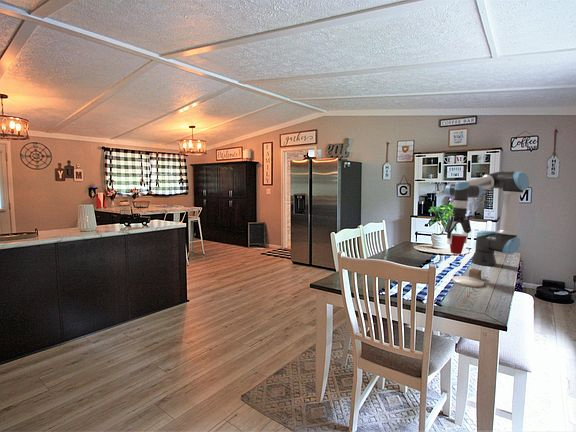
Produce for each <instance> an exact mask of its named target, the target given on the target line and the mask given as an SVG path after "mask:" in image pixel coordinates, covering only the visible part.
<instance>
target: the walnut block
mask: <svg viewBox="0 0 576 432" xmlns="http://www.w3.org/2000/svg"><path fill="white" fill-rule="evenodd" d="M468 277H473V278H477V279H480V280H481V279H482V269H477V268H471V269H469V271H468Z"/></svg>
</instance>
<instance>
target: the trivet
mask: <svg viewBox="0 0 576 432" xmlns="http://www.w3.org/2000/svg"><path fill="white" fill-rule="evenodd" d="M452 282H453V283H454V284H456V285H459V286H462V287H469V288H482V287H484V286H485V285H484V284H485V283H484V280H481V278H480V279H477V278H473V277H469V275H455V276H453V277H452Z"/></svg>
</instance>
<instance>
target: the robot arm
mask: <svg viewBox="0 0 576 432" xmlns="http://www.w3.org/2000/svg"><path fill="white" fill-rule="evenodd" d="M529 186H530V178H529V176H528V174H527V173H526V172H524V171H517V170H515V171H502V170H501V171H497V172H496V171H495V172H492V173H488V174H484V175H482V177H478V178H475V179H470V180H467V181H456V182H455V183H449V184H446V185H445V188H444V193H445V195H446V196H450V197H453V205H452V207H453V208H452V214H453V215H451V216H450V215H449V216H448V220H447V223H446V226H445V229H444V232H445V233H446V235H447V236H446V239H447V240H446V241H447V243H446V244H449V245H450V244H452V232H453V231H454V229H455V228H456V225H458V224H460V225H461V228H462V230H463V232H462V234H464V235H467V237H466V240H465V243H464V245H465V244H467V242H468V235H469V234H470V233H471V232H472V228H471V221H470V219H471V218H470V216H469V215H467V213H468V200H469V198H474V199H475V198H480V197H482V196H483V193H484V189H486V190H490V189H500V190H501V189H502V190H501V191H502V193H503V194H504V196H503V203H502V204H503V205H502V210H501V211H502V212H501V218H500V225H499V230H497V231H494V230H480V231H477V232H476V239H475V240H476V241H475V248H474V249H475V251H474V253H473V255H472V257H471V263H472V264H476V265H480V266H485V267H487V266H488V267H493V266H496V265H497V260H496V256H495V252H497V253H498V252H499V253H503V254H507V255H514V254H515V253H517V251H518V250H519V249H520V247H521V240H520V238H519V237H518V234H517V233H516V227H517V226H516V225H517V219H518V212H519V207H520V206H519V205H520V204H519V203H520V199H521V195H523V194H524V191H526V190H527V189H528V188H529Z"/></svg>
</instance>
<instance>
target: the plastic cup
mask: <svg viewBox="0 0 576 432" xmlns="http://www.w3.org/2000/svg"><path fill="white" fill-rule="evenodd" d="M466 237H467V235H464V234H463V233H452V244H449V248H450V253H451V254H455V255H461V254H462V253H463V249H464V246H465V240H466ZM467 238H468V237H467Z"/></svg>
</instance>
